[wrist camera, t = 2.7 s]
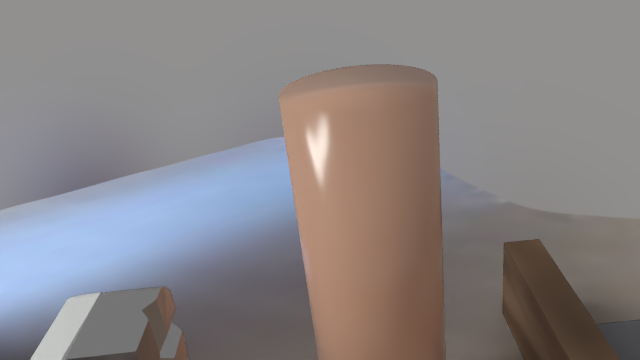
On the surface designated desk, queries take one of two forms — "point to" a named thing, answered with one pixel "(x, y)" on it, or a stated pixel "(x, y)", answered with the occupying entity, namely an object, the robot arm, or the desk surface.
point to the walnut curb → (547, 308)
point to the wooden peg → (369, 209)
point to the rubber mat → (623, 338)
